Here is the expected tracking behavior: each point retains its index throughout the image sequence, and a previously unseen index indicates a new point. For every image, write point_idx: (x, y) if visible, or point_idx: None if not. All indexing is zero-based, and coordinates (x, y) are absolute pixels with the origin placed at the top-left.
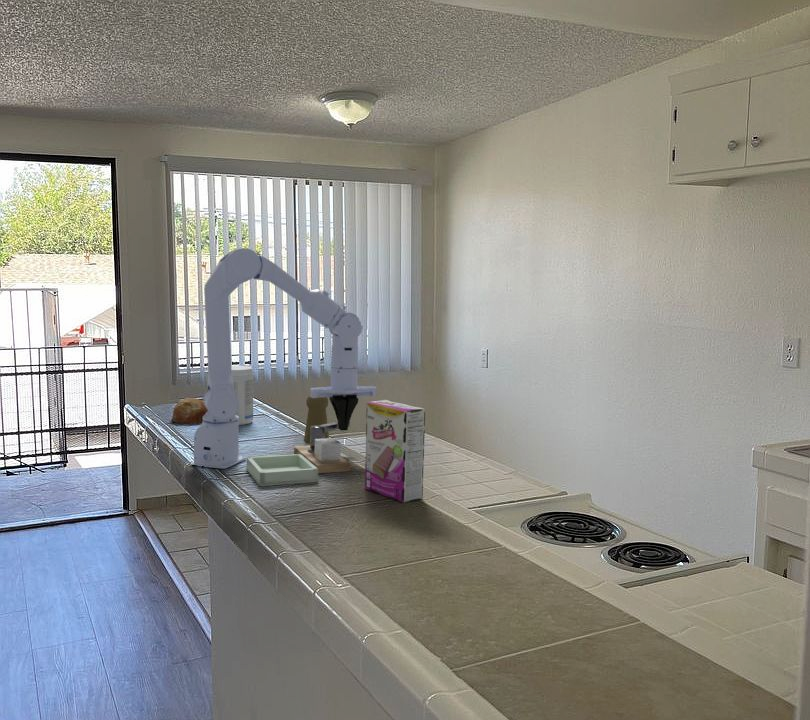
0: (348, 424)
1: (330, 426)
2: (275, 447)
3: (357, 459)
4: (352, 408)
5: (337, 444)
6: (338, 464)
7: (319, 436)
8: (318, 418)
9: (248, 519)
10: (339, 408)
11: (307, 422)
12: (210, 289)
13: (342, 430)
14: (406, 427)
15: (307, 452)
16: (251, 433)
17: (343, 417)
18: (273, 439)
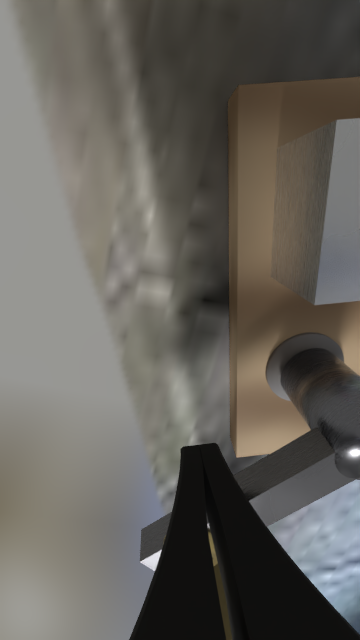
0: (180, 474)
1: (280, 475)
2: (350, 492)
3: (141, 320)
4: (162, 618)
5: (355, 122)
6: (307, 82)
7: (349, 383)
8: (230, 636)
9: None
10: (314, 604)
11: None
12: None
13: (211, 443)
14: None
15: (346, 353)
16: (342, 603)
17: (231, 516)
18: (318, 560)
